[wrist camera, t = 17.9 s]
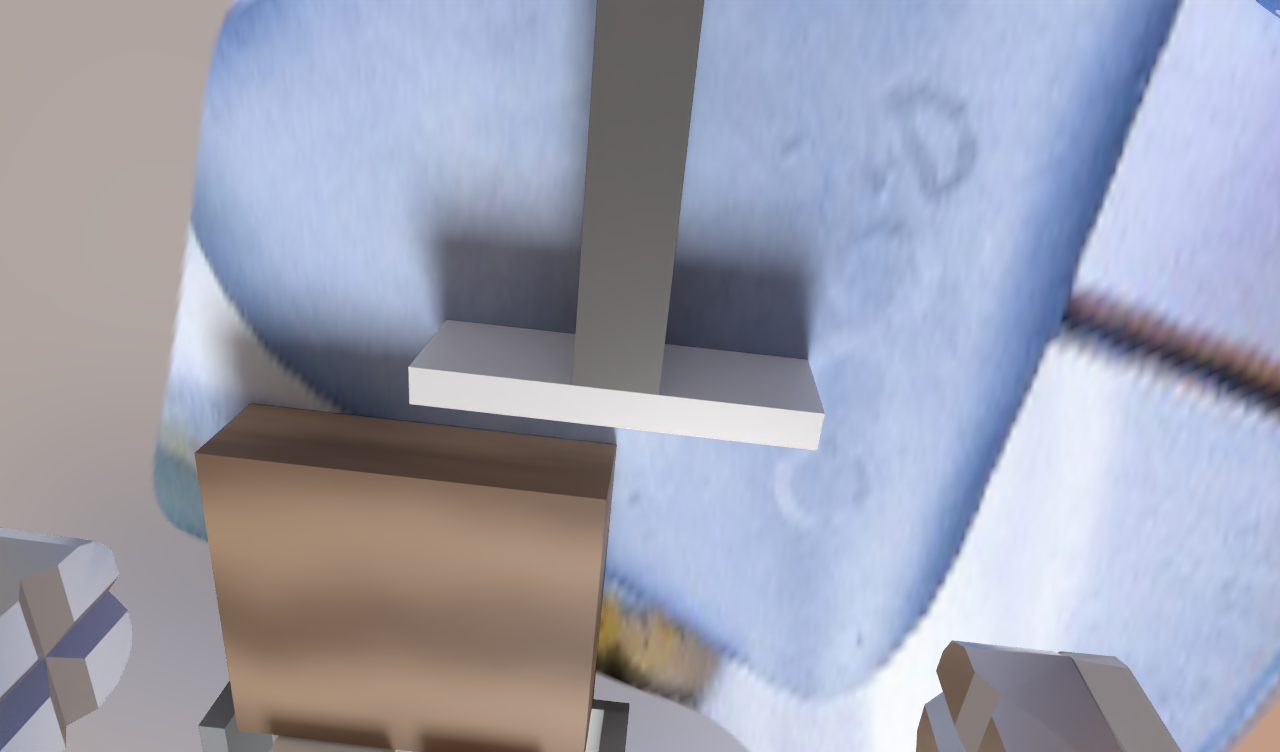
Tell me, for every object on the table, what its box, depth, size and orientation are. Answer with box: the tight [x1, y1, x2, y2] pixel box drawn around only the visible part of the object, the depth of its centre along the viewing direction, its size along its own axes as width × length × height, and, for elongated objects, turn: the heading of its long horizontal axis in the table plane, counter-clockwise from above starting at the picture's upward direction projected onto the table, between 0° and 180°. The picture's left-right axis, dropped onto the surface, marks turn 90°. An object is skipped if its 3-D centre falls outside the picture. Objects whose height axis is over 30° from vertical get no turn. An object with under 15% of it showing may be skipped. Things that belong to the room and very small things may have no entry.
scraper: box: [408, 0, 825, 450], centre depth 23 cm, size 15×12×4 cm
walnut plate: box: [195, 404, 616, 752], centre depth 30 cm, size 12×13×4 cm
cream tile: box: [269, 735, 411, 752], centre depth 32 cm, size 4×4×2 cm
